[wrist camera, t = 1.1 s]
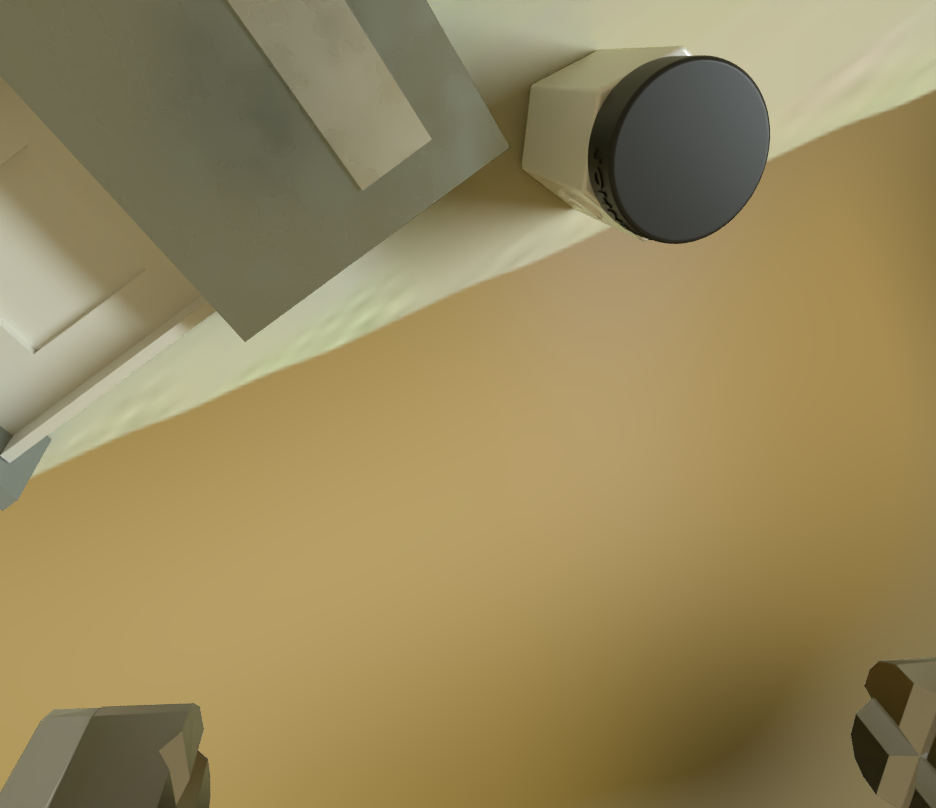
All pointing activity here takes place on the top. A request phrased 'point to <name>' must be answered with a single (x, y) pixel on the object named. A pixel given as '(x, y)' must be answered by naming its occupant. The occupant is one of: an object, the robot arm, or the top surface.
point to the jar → (649, 140)
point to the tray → (70, 292)
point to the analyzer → (254, 128)
